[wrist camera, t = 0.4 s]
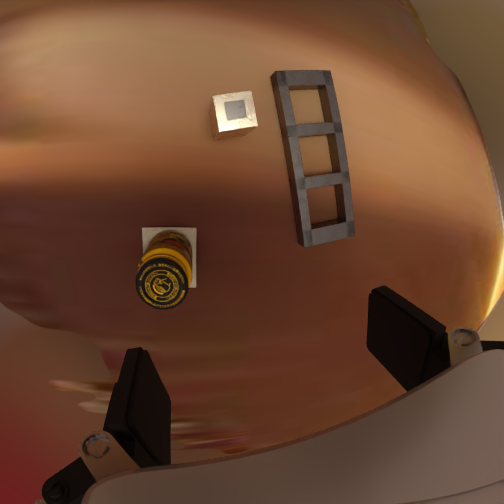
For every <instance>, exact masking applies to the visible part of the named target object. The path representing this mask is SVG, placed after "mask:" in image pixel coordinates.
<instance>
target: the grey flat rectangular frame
mask: <svg viewBox="0 0 504 504" xmlns="http://www.w3.org/2000/svg"><path fill="white" fill-rule="evenodd" d="M271 82H272V87H273V92H274V97H275V102H276V107H277V112H278V117H279V123H280V128H281V133H282V139H283V145H284V151H285V156H286V162H287V169H288V175H289V181H290V187H291V194H292V201H293V208H294V215H295V222H296V229H297V237H298V243H299V244H300V245H302V246H303V247H309V246H314V245H318V244H322V243H326V242H330V241H334V240H339V239H343V238H347V237H351V236H355V230H354V217H353V206H352V196H351V186H350V178H349V170H348V162H347V155H346V149H345V142H344V136H343V130H342V124H341V119H340V113H339V108H338V103H337V98H336V94H335V89H334V84H333V80H332V76H331V71H327V70H289V71H275V72H274V73H273V74H272V76H271ZM305 89H318V91H319V95H320V100H321V105H322V110H323V115H324V121H325V123H314V124H302V125H296V124H295V119H294V114H293V109H292V103H291V98H290V94H289V90H305ZM318 135H327V138H328V144H329V150H330V157H331V164H332V171H333V172H330V173H322V174H316V175H309V176H304V172H303V166H302V159H301V153H300V147H299V141H298V137H307V136H318ZM328 185H334V186H335V194H336V203H337V212H338V219H336V220H331V221H326V222H321V223H317V224H312V225H311V223H310V215H309V207H308V200H307V193H306V189H310V188H316V187H322V186H328Z"/></svg>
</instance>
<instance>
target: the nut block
mask: <svg viewBox="0 0 504 504" xmlns="http://www.w3.org/2000/svg"><path fill="white" fill-rule="evenodd" d="M209 115H210V120H211V126H212V131H213V137H214V140H220V139H225V138H231V137H237V136H243V135H246V134H247V133H248V132H250V131H251V130H253V129H254V128H255V127H257V126H258V124H257V119H256V114H255V108H254V103H253V98H252V93H251V91H244V92H236V93H228V94H222V95H215V96H213V97H212V101H211V105H210V110H209Z"/></svg>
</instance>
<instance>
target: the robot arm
mask: <svg viewBox="0 0 504 504" xmlns="http://www.w3.org/2000/svg"><path fill="white" fill-rule="evenodd" d="M445 330H446V327H445V326H444V325H443V324H441V323H440V322H438V321H437V320H435V319H434V318H433V317H431V316H430V315H428V314H427V313H425V312H424V311H422V310H421V309H419V308H418V307H417V306H415V305H414V304H412V303H411V302H409V301H408V300H406V299H405V298H403V297H402V296H400V295H399V294H397V293H396V292H394V291H393V290H391V289H390V288H388V287H387V286H380V287H378V288H375V289H373V290H372V291H371V293H370V294H369V302H368V327H367V348H368V350H369V351H370V352H371V353H372V354H373V355H374V356H375V357H376V358H377V359H378V361H379V362H380V363H381V364H382V365H383V366H384V367H385V368H386V369H387V370H388V371H389V372H390V373H391V375H392V376H393V377H394V378H395V379H396V380H397V381H398V382H399V383H400V384H401V385H402V386H403V388H404V389H405V390H406V391H407V392H406V393H404V394H402V395H401V396H399V397H397V398H395V399H393V400H391V401H389V402H387V403H385V404H383V405H381V406H379V407H377V408H374V409H372V410H370V411H368V412H366V413H363V414H361V415H359V416H357V417H354V418H352V419H350V420H347V421H345V422H342V423H340V424H337V425H335V426H332V427H329V428H327V429H324V430H321V431H318V432H315V433H313V434H310V435H307V436H304V437H301V438H297V439H294V440H291V441H287V442H284V443H281V444H277V445H273V446H270V447H266V448H262V449H258V450H254V451H249V452H245V453H240V454H235V455H230V456H225V457H219V458H214V459H208V460H202V461H195V462H187V463H180V464H171V456H170V455H171V454H170V453H171V452H170V431H171V401H170V397H169V395H168V393H167V391H166V389H165V387H164V385H163V383H162V381H161V379H160V377H159V375H158V373H157V370H156V368H155V366H154V364H153V362H152V360H151V357H150V355H149V353H148V351H147V350H143V349H142V348H141V347H138V348H132V349H128V350H127V352H126V355H125V358H124V362H123V365H122V368H121V372H120V375H119V379H118V382H117V383H115V385H114V388H113V392H112V395H111V399H110V403H109V407H108V411H107V415H106V419H105V423H104V427H103V431H102V430H97V431H92V432H90V433H88V434H87V435H86V436H84V437H83V438H82V440H81V441H80V444H79V449H78V451H79V454H80V456H81V457H79V458H78V459H77V460H75V461H74V462H72V463H71V464H69V465H68V466H66V467H65V468H64V469H62V470H61V471H59V472H58V473H56V474H55V475H53V476H52V477H51V478H49V479H48V480H47V481H46V482H45V483H44V485H43V488H42V496H43V500H42V501H40V500H37V501H36V503H35V504H504V341H480V338H479V335H478V333H477V332H476V331H474V330H473V329H471V328H468V327H456V328H453V329H452V330H450V331H449V333H448V334H447V333H446V332H445Z"/></svg>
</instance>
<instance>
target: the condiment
mask: <svg viewBox="0 0 504 504" xmlns="http://www.w3.org/2000/svg"><path fill="white" fill-rule="evenodd" d="M142 238H143V256H142V258H141V260H140V262H139V263H138V267H137V276H136V289H137V292H138V295H139V296H140V298H141V299H142V300H143V301H144V302H145V303H147V304H148V305H150V306H151V307H153V308H155V309H171V308H174V307H176V306H177V305H179V304H180V303H182V301H183V300H184V299H185V296H186V294H187V293H188V289H189V287H196V228H179V227H177V228H176V227H158V228H142Z"/></svg>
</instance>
